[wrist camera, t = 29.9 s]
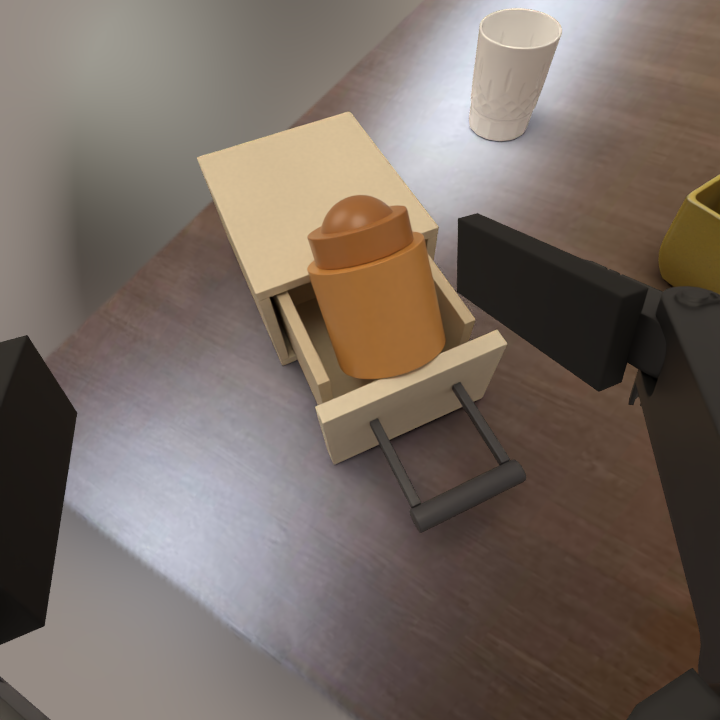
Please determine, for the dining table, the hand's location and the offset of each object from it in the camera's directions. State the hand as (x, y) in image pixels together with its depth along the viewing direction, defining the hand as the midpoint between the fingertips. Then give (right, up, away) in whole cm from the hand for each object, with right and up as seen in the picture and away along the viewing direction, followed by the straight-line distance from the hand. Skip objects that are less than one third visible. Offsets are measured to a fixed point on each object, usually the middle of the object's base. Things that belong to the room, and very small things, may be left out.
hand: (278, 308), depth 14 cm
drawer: (+5, -4, +21) cm, 22 cm away
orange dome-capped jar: (+5, -1, +16) cm, 17 cm away
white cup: (+19, +26, +39) cm, 51 cm away
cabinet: (-1, +7, +29) cm, 29 cm away
